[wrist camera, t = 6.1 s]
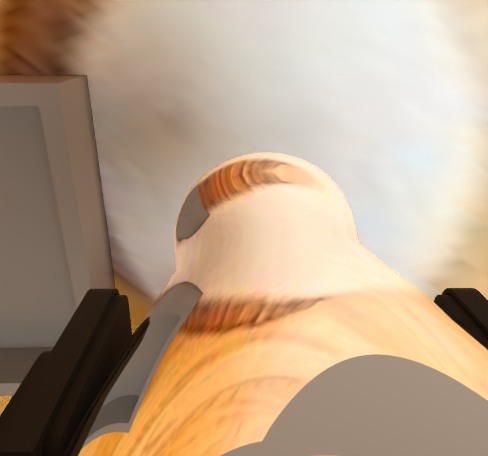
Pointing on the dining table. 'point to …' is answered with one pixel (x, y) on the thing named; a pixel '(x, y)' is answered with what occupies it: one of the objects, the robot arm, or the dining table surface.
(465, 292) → the robot arm
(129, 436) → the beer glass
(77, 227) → the tote
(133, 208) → the dining table surface
